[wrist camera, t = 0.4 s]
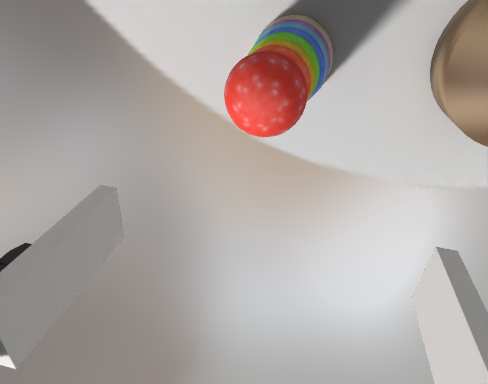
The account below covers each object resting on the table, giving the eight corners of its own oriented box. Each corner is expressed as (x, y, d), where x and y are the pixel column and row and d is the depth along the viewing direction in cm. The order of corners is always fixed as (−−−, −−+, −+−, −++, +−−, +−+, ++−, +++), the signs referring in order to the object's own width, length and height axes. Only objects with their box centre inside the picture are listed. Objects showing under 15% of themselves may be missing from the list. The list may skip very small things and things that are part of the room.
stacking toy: (347, 30, 32) (366, 68, 16) (313, 107, 36) (302, 195, 21) (270, 1, 32) (215, 10, 17) (245, 81, 37) (183, 149, 21)
